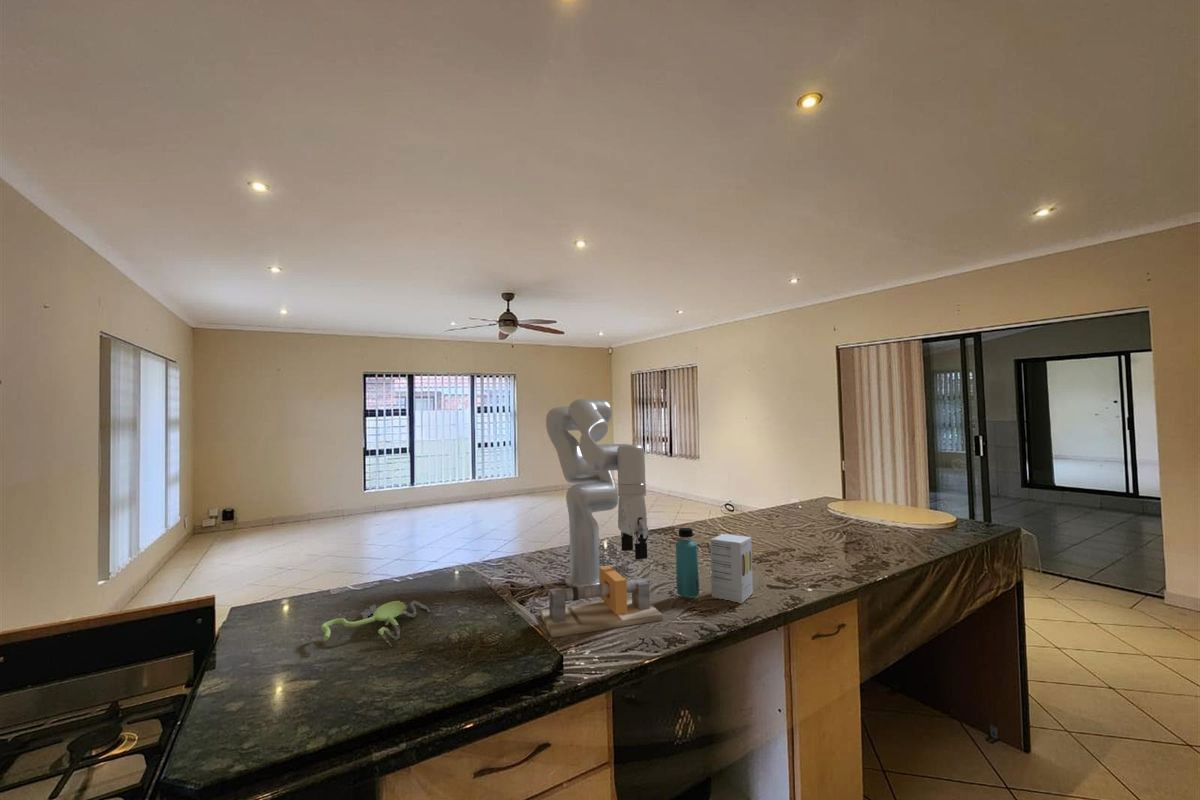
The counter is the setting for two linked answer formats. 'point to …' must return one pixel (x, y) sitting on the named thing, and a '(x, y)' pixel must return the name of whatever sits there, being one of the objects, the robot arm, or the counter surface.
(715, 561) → the supplement box
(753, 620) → the counter surface
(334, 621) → the figurine
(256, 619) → the counter surface
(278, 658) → the counter surface
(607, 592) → the pipe rig
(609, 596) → the brown slab
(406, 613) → the counter surface
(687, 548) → the beverage bottle
